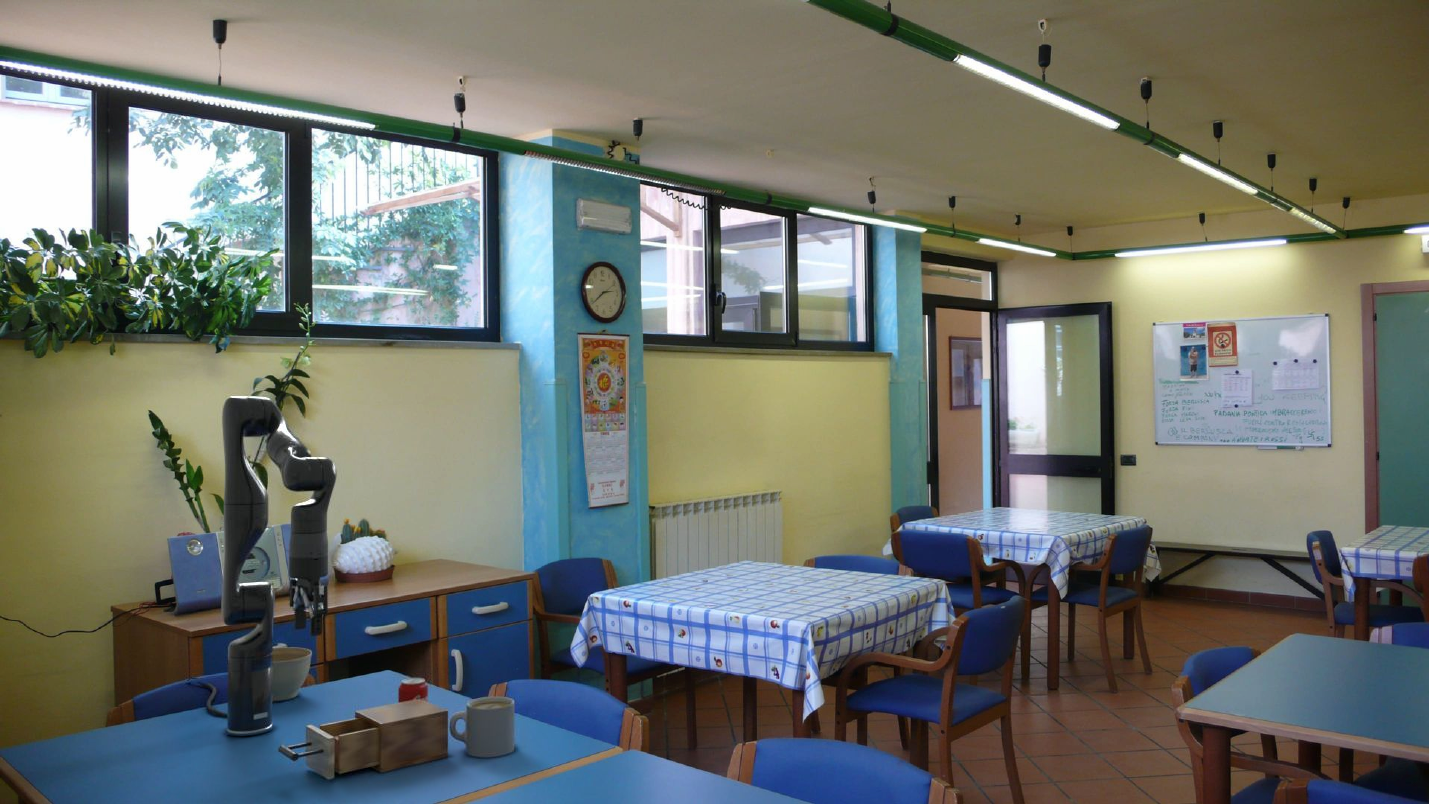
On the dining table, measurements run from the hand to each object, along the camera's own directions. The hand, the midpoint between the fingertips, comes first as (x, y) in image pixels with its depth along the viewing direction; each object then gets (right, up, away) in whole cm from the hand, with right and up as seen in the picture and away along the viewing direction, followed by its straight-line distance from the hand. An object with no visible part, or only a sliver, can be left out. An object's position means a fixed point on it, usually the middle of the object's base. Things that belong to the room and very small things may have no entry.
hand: (307, 632), depth 216 cm
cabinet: (+19, -26, +1) cm, 32 cm away
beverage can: (+17, -27, +16) cm, 36 cm away
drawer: (+9, -25, -9) cm, 28 cm away
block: (+11, -24, -7) cm, 27 cm away
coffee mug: (+35, -27, +6) cm, 44 cm away
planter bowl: (-26, -27, +47) cm, 61 cm away
